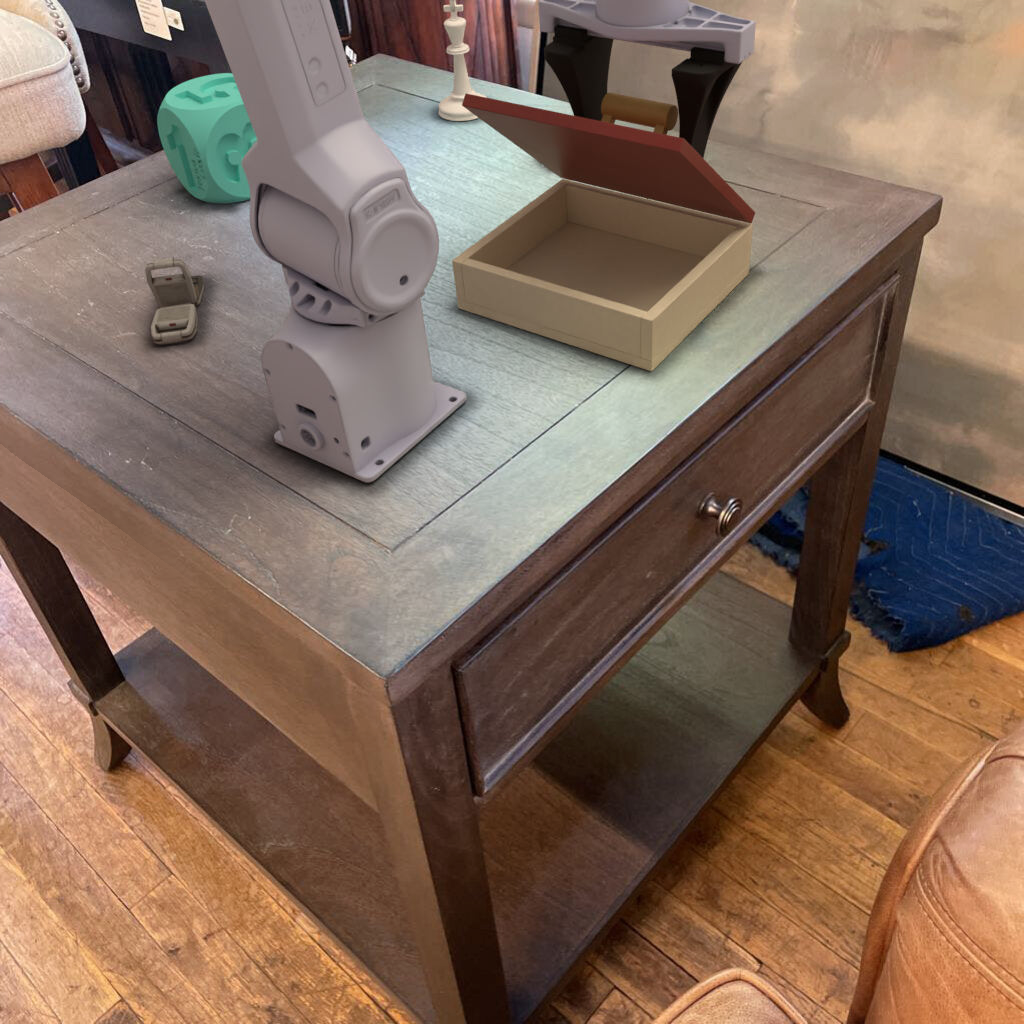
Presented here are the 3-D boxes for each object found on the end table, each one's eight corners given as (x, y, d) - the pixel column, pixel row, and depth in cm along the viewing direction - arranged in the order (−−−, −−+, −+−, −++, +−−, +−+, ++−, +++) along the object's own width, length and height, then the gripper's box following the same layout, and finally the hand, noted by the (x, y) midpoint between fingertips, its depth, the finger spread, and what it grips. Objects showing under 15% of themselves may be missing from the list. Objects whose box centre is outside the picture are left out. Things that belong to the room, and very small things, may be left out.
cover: (679, 152, 60) (709, 66, 60) (461, 105, 68) (486, 28, 67) (751, 224, 73) (777, 153, 72) (560, 177, 80) (582, 113, 80)
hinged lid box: (651, 372, 68) (652, 320, 65) (457, 308, 75) (451, 260, 73) (749, 273, 76) (753, 224, 73) (564, 224, 83) (562, 178, 80)
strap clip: (195, 342, 75) (178, 289, 72) (152, 348, 75) (133, 295, 72) (206, 280, 81) (190, 229, 78) (166, 285, 81) (149, 234, 78)
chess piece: (484, 121, 99) (473, 7, 92) (432, 121, 100) (417, 8, 93) (495, 100, 102) (485, -12, 95) (445, 99, 103) (432, -11, 96)
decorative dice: (173, 185, 94) (145, 94, 88) (252, 154, 97) (229, 64, 92) (218, 213, 89) (191, 119, 84) (299, 180, 93) (278, 87, 87)
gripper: (785, -75, 63) (766, 149, 72) (577, -95, 69) (584, 111, 79) (729, -40, 59) (716, 192, 68) (513, -65, 65) (529, 149, 75)
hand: (641, 152), depth 73 cm, fingers open, 7 cm apart
